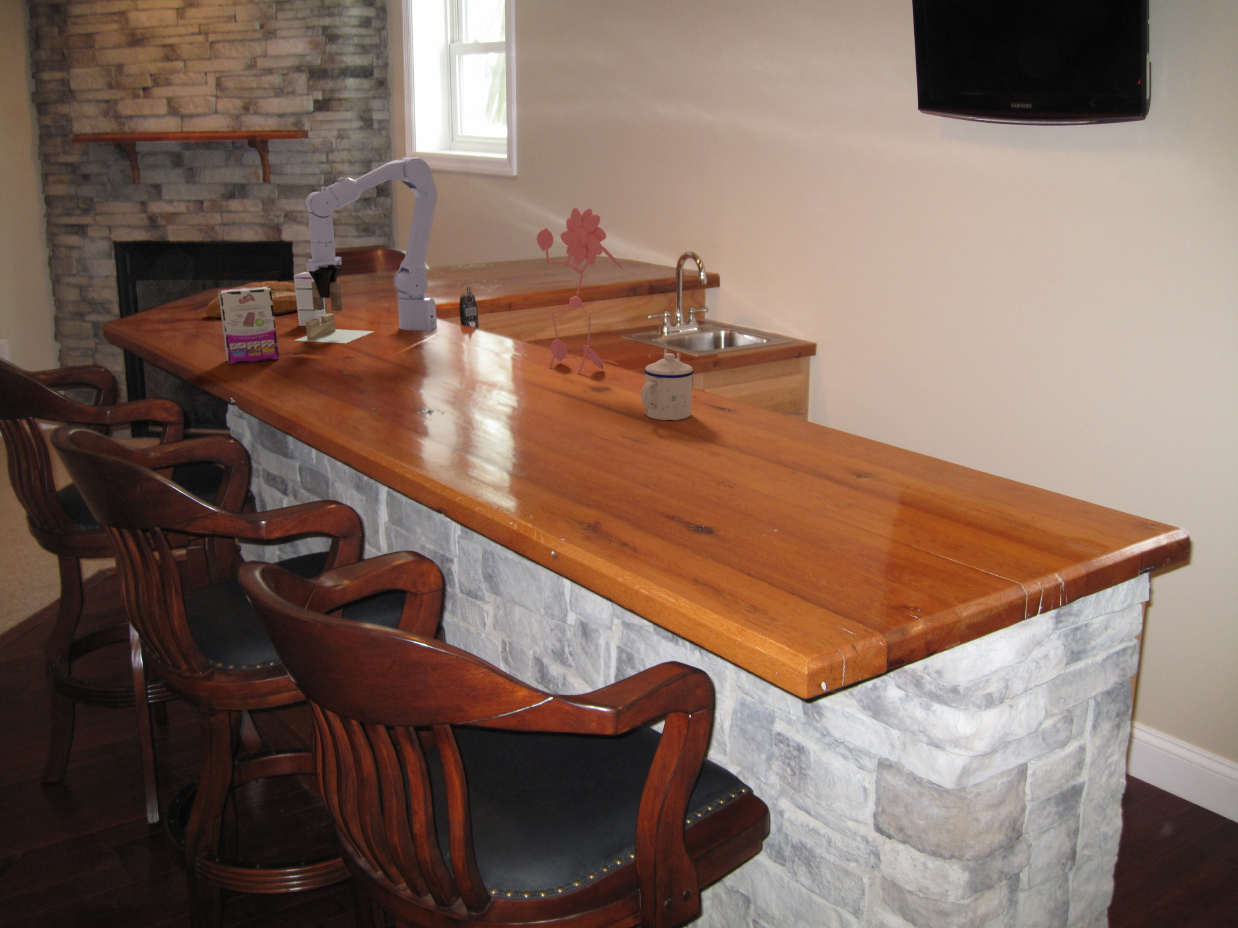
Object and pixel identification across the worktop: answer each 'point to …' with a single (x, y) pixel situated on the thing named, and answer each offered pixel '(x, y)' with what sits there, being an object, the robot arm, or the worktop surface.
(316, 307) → the wooden c-clamp shape
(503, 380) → the worktop surface
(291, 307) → the bread
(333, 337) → the board
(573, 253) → the figurine
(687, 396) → the teacup with lid
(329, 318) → the wooden u-shaped block
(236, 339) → the candy bar box
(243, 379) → the worktop surface
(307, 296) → the syrup box
